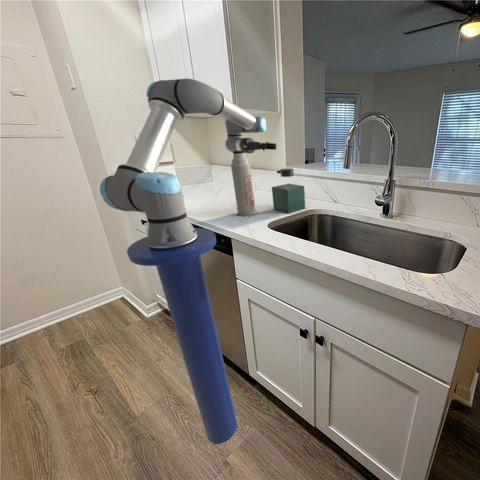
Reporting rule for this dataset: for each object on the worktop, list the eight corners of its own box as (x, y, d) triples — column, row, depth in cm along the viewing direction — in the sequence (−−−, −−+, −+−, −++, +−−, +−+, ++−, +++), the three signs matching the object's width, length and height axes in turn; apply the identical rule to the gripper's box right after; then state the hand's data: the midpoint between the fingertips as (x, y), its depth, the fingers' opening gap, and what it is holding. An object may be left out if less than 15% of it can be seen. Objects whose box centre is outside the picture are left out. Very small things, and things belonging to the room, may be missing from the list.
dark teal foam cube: (271, 208, 129) (269, 186, 125) (288, 204, 136) (286, 183, 132) (288, 213, 121) (287, 189, 117) (305, 208, 129) (304, 186, 124)
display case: (170, 196, 160) (155, 135, 147) (181, 197, 156) (167, 135, 142) (151, 200, 151) (134, 135, 138) (163, 202, 147) (146, 135, 133)
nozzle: (273, 175, 124) (272, 169, 123) (283, 173, 128) (282, 167, 127) (286, 177, 118) (286, 170, 117) (296, 175, 122) (295, 169, 121)
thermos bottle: (258, 213, 123) (251, 150, 112) (244, 216, 117) (235, 151, 106) (249, 210, 128) (241, 150, 117) (234, 213, 122) (225, 151, 111)
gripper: (257, 152, 142) (285, 153, 128) (236, 154, 133) (264, 156, 119) (255, 137, 139) (284, 137, 125) (234, 138, 130) (262, 138, 116)
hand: (274, 146), depth 122 cm, fingers closed
